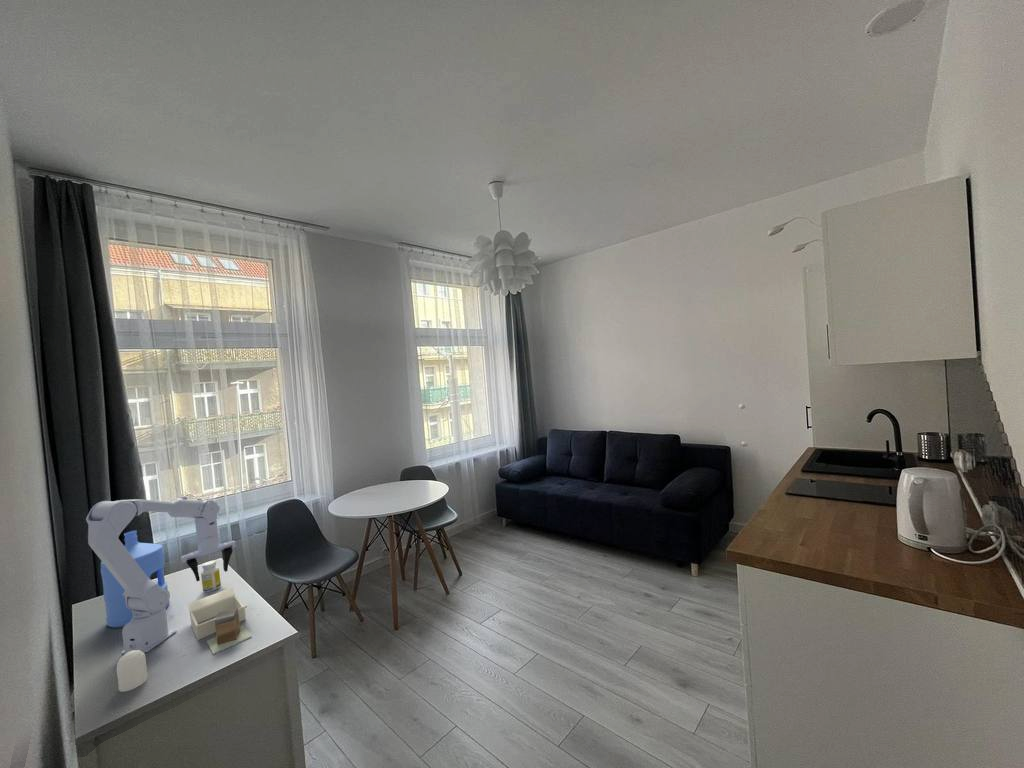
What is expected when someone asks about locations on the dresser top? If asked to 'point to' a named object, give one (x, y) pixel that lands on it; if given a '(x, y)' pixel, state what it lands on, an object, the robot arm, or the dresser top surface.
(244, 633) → the mat
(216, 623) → the walnut block
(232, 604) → the carton
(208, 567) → the supplement bottle
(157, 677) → the dresser top surface
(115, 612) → the water jug
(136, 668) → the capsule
